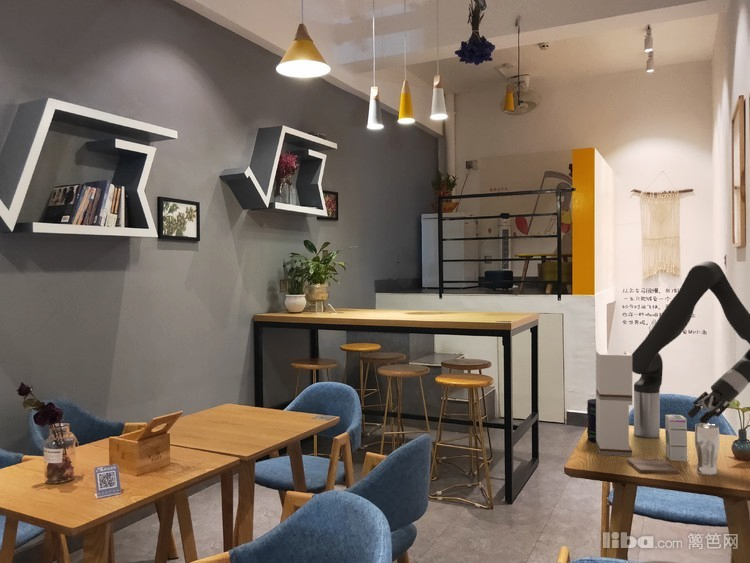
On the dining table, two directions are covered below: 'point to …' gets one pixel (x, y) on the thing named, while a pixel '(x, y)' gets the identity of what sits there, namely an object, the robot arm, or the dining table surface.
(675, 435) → the syrup box
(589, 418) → the storage jar
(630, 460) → the walnut board
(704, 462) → the beer glass
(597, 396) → the white stacked pillar
